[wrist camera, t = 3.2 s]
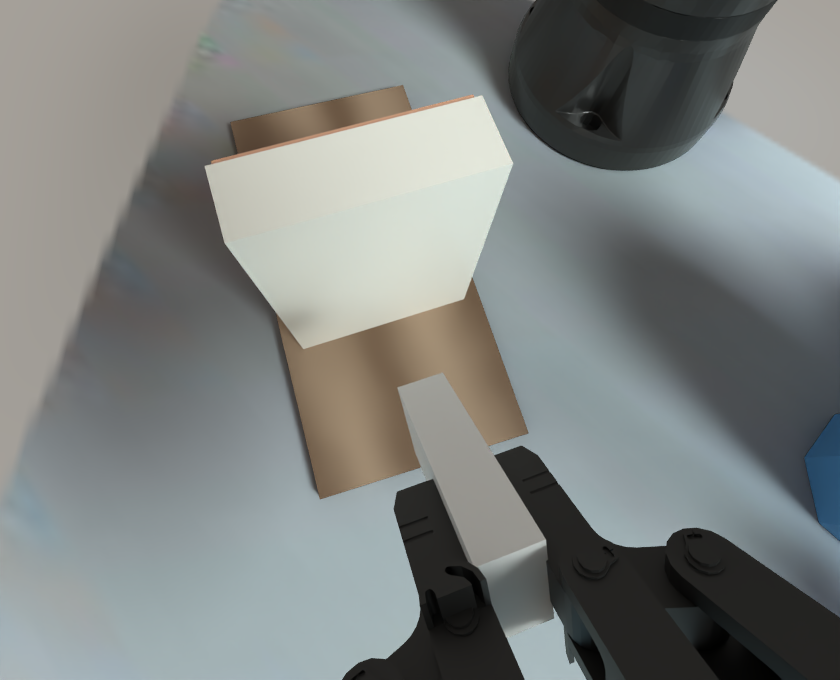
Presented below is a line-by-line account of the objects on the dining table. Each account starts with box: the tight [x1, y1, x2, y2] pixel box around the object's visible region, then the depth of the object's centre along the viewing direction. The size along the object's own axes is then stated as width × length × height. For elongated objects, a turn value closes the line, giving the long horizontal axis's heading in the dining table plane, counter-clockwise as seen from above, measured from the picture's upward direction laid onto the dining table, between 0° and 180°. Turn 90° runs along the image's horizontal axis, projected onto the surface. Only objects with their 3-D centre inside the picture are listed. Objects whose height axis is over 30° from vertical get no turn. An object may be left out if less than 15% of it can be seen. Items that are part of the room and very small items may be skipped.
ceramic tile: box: [205, 95, 513, 349], centre depth 22 cm, size 3×10×13 cm, turn 109°
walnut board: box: [230, 85, 528, 499], centre depth 30 cm, size 12×25×1 cm, turn 17°
